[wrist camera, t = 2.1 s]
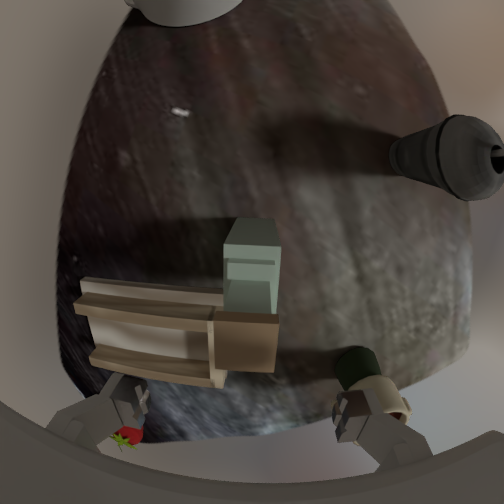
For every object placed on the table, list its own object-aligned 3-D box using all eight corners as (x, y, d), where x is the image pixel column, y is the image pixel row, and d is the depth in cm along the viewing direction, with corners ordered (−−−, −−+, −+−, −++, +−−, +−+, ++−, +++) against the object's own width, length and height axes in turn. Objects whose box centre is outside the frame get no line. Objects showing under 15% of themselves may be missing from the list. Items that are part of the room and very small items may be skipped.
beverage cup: (367, 162, 27) (503, 166, 8) (396, 115, 25) (526, 79, 6) (410, 200, 28) (543, 246, 9) (437, 154, 26) (567, 163, 7)
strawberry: (153, 404, 39) (136, 448, 30) (148, 425, 41) (133, 464, 32) (122, 391, 39) (100, 431, 29) (120, 412, 41) (101, 449, 31)
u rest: (85, 276, 33) (65, 291, 28) (227, 289, 32) (221, 309, 27) (103, 352, 36) (89, 371, 32) (227, 371, 36) (223, 396, 31)
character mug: (312, 378, 36) (326, 450, 24) (326, 339, 34) (350, 412, 21) (376, 380, 36) (403, 441, 24) (394, 344, 34) (432, 405, 22)
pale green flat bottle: (237, 217, 30) (203, 284, 12) (274, 219, 30) (291, 289, 12) (235, 277, 32) (209, 391, 15) (270, 279, 32) (277, 395, 14)
